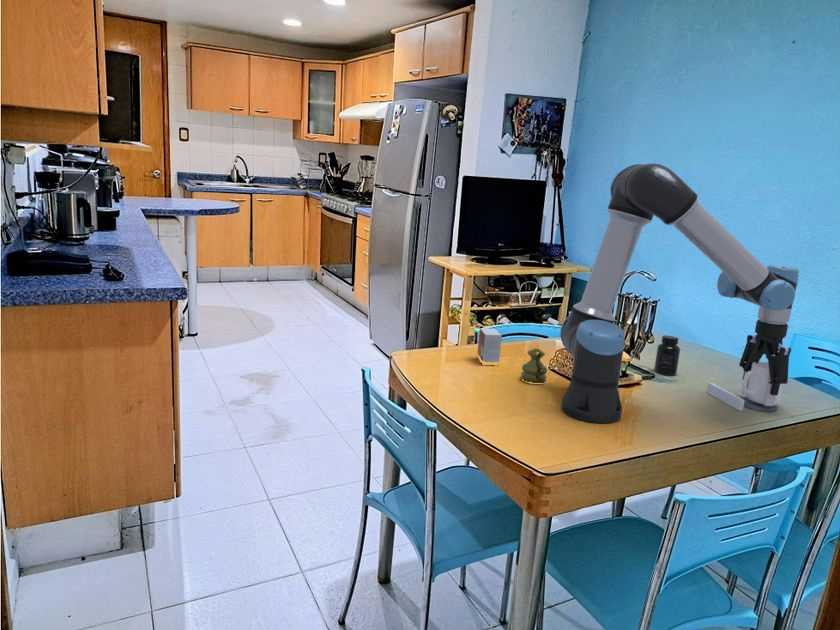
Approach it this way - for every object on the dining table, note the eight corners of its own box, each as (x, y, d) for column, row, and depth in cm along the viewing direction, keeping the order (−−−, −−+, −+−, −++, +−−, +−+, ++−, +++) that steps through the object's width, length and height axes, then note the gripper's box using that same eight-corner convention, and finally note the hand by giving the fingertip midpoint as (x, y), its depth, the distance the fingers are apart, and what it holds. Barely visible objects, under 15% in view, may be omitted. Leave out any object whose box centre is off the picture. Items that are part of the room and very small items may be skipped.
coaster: (753, 411, 160) (753, 410, 160) (728, 398, 170) (728, 397, 170) (785, 411, 162) (785, 410, 162) (759, 398, 171) (759, 396, 171)
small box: (476, 358, 194) (479, 327, 192) (493, 358, 195) (496, 328, 192) (482, 366, 186) (484, 334, 184) (499, 366, 187) (502, 334, 185)
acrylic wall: (738, 410, 160) (740, 400, 160) (706, 392, 174) (708, 382, 173) (742, 410, 161) (744, 400, 160) (710, 392, 174) (711, 382, 173)
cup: (786, 404, 163) (793, 370, 161) (751, 406, 160) (758, 371, 157) (762, 394, 171) (769, 361, 168) (728, 395, 168) (734, 361, 165)
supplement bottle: (680, 374, 190) (686, 338, 187) (668, 377, 186) (674, 341, 183) (661, 368, 195) (667, 333, 193) (649, 371, 192) (654, 335, 189)
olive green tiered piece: (544, 387, 170) (547, 354, 168) (518, 382, 173) (522, 350, 170) (547, 379, 177) (550, 347, 175) (522, 375, 179) (525, 344, 177)
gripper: (815, 331, 151) (797, 413, 156) (757, 312, 171) (743, 386, 176) (790, 330, 149) (772, 413, 155) (734, 312, 170) (720, 386, 175)
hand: (757, 399), depth 165 cm, fingers closed on cup, 8 cm apart
